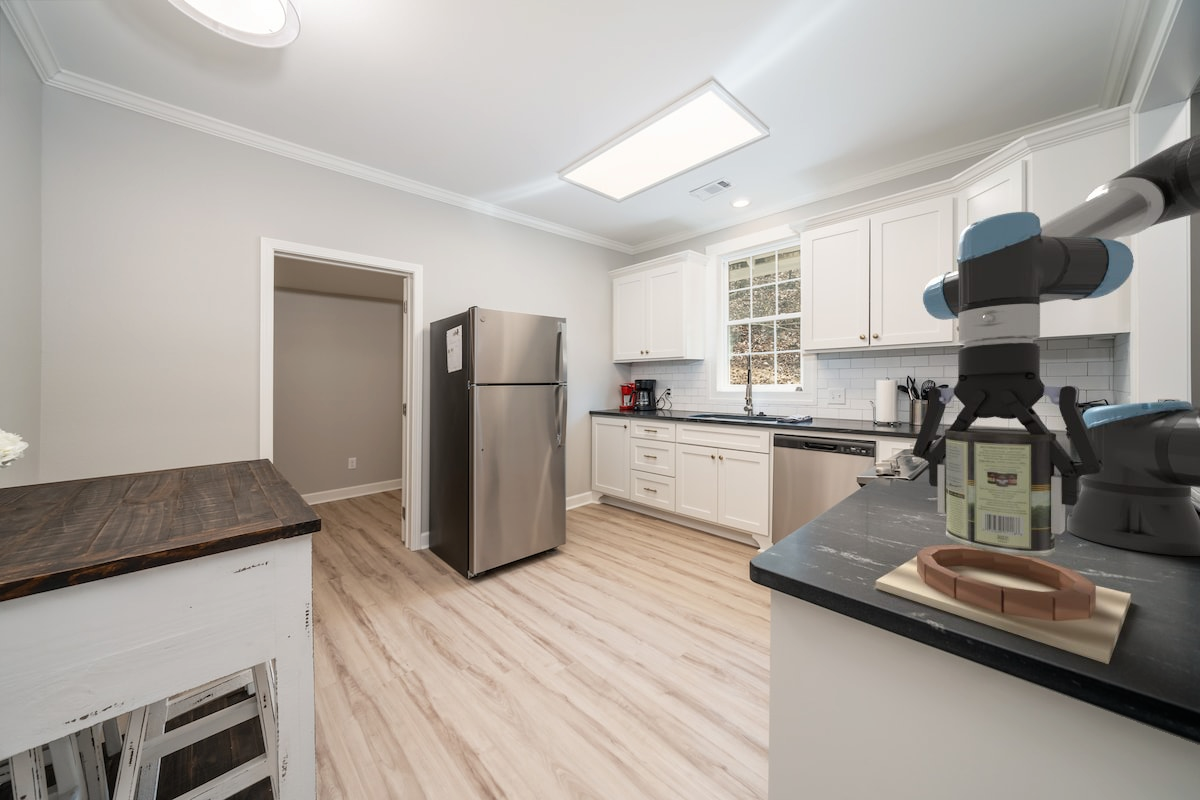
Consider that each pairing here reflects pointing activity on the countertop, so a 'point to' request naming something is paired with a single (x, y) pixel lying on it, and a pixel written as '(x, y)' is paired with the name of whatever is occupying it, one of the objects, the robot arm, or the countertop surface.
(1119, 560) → the countertop surface
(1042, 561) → the ring holder
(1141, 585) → the countertop surface
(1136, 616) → the countertop surface
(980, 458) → the coffee can
